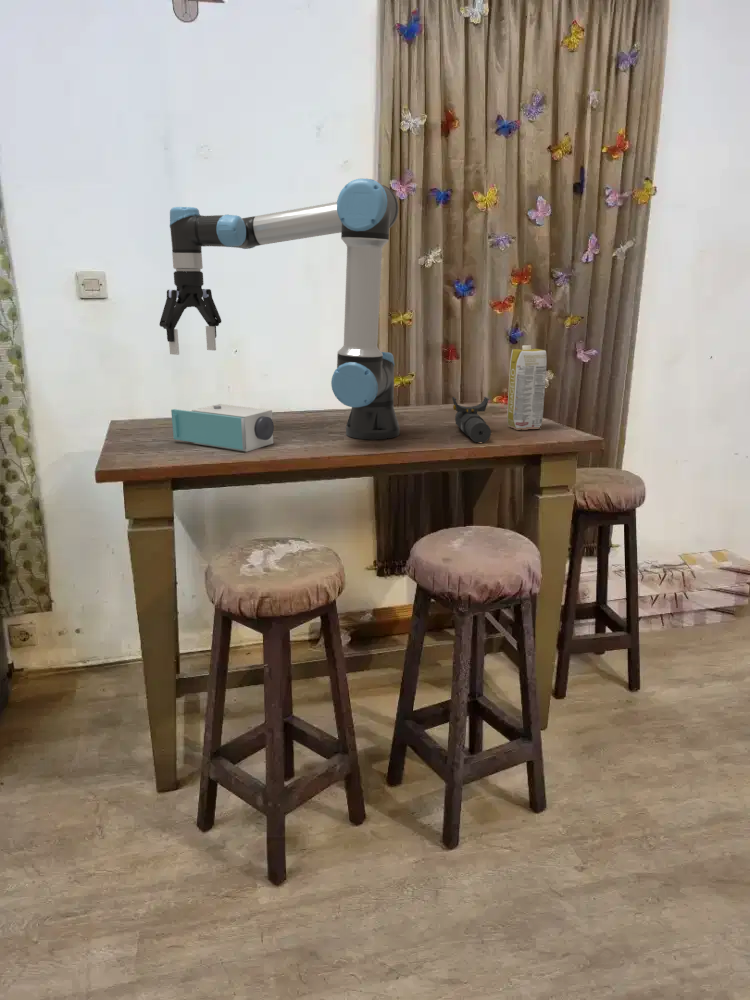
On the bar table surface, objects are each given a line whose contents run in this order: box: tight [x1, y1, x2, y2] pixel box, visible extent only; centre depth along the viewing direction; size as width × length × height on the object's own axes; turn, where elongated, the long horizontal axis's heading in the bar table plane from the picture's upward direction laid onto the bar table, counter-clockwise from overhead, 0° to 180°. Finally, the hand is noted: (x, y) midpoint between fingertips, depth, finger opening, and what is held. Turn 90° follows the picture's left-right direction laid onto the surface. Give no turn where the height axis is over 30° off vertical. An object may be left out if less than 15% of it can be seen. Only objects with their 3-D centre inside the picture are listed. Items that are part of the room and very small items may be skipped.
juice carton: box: [506, 344, 548, 428], centre depth 210 cm, size 9×8×24 cm
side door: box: [170, 408, 246, 450], centre depth 188 cm, size 24×2×8 cm, turn 60°
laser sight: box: [452, 396, 492, 443], centre depth 204 cm, size 10×22×10 cm, turn 5°
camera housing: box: [191, 403, 275, 453], centre depth 192 cm, size 20×11×10 cm, turn 60°
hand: (193, 352), depth 198 cm, fingers open, 13 cm apart
